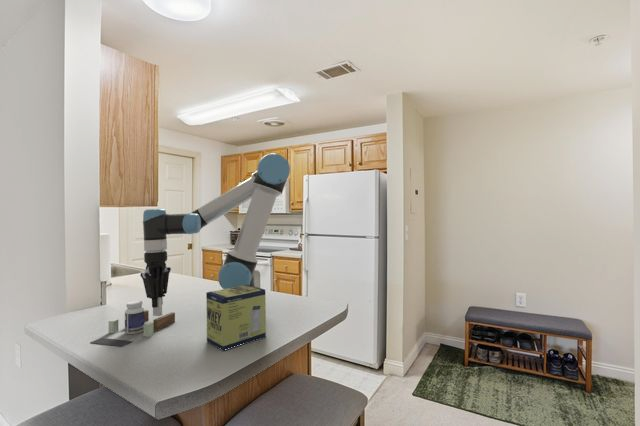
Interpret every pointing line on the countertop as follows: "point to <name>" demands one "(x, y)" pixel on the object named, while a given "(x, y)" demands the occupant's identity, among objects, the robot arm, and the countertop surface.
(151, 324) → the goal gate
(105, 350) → the countertop surface
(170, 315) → the lane
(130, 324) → the pill bottle
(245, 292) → the protein box
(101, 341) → the mat
